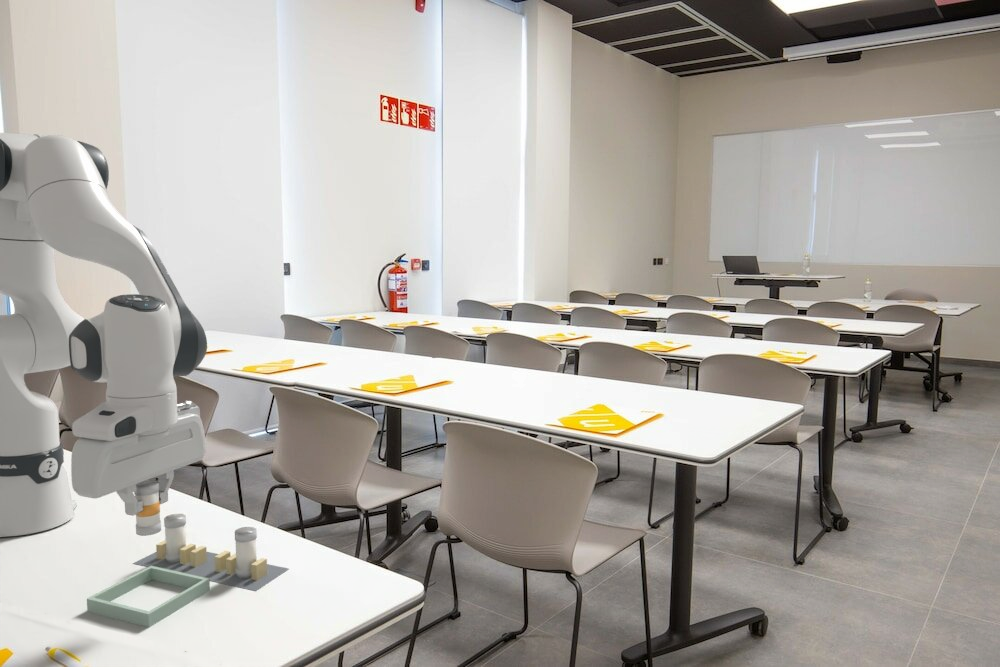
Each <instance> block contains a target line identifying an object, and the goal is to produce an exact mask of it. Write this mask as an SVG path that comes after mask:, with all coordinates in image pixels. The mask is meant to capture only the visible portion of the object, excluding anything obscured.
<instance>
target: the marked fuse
mask: <svg viewBox="0 0 1000 667" xmlns="http://www.w3.org/2000/svg"><path fill="white" fill-rule="evenodd" d="M133 494H134V496H135V497H136V499H137V500H143V506H142V507H143V512H141V513H138V514H136V515H135V517H136V518H135V521H136V522H135V523H136V524H135V535H137V536H142V537H143V536H147V537H148V536H152V535H156V534H157V533H160V532H161V531H162V521H161V517H160V516H161V514H160V512H161V506H160V505H161V504H160V501H159V481H158V479H157V480H156V479H148V480H146V481H143V482H140V483H137V484H136V491H135V492H133Z"/></svg>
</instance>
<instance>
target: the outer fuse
mask: <svg viewBox="0 0 1000 667" xmlns="http://www.w3.org/2000/svg"><path fill="white" fill-rule="evenodd" d="M257 531H258V530H257V527H254V526H243V527H239V528H237V529H235V530H234V541H235V554H236V577H238V578H251V564H252V563H254V562H256V561H257V537H258V532H257Z"/></svg>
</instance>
